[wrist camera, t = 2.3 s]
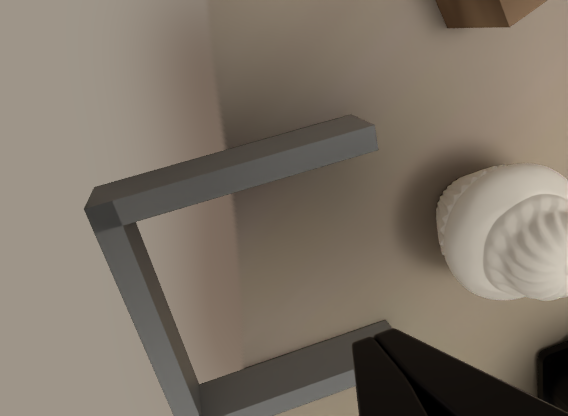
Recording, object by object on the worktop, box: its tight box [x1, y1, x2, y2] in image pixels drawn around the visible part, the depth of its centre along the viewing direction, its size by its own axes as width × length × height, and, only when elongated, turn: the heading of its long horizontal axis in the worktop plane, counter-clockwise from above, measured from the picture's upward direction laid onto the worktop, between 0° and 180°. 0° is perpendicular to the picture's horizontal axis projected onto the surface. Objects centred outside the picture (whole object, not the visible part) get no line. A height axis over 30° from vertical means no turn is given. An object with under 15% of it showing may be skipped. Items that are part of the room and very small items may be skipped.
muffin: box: [436, 163, 568, 301], centre depth 20 cm, size 6×6×7 cm
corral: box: [84, 115, 392, 416], centre depth 21 cm, size 12×11×2 cm
